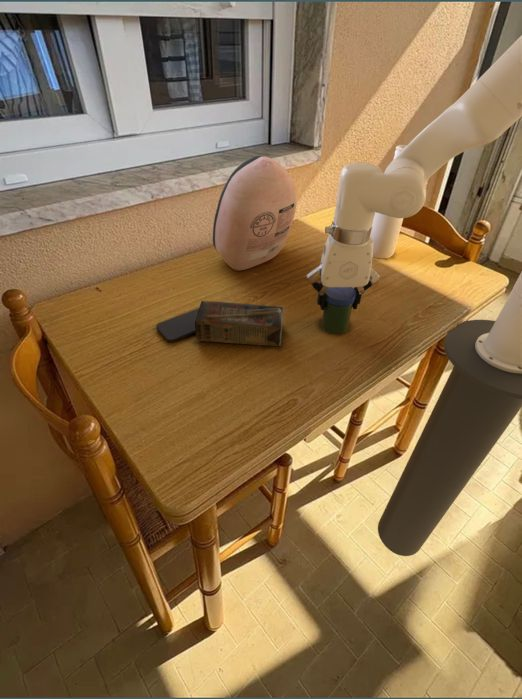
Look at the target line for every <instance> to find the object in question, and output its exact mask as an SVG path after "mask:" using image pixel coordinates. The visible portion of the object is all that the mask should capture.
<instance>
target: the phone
mask: <svg viewBox="0 0 522 699" xmlns="http://www.w3.org/2000/svg"><path fill="white" fill-rule="evenodd" d="M198 310H199V308H196V309H193V310H191V311H187V312H185V313H182V314H180V315H177V316H174V317H172V318H169V319H166V320H164V321H162V322H158V323H157V324H156V330H157V332H159V333H160V335H161V336H162V337H163V339H165V340H166V342H168V343H174V342H176V341H179V340H182V339H184V338H186V337H188V336H191V335H193V334H196V329H195V319H196V317H197V313H198Z"/></svg>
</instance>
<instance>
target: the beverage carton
mask: <svg viewBox="0 0 522 699" xmlns="http://www.w3.org/2000/svg"><path fill="white" fill-rule="evenodd" d="M283 320H284V307H283V306H276V305H263V304H252V303H239V302H227V301H226V302H225V301H210V300H201V302H200V304H199V310H198V313H197V317H196V319H195V329H196V333H195V336H196V341H197V342H211V343H225V344H238V345H239V344H240V345H251V346H252V345H253V346H269V347H270V346H271V347H281V342H282V332H283V330H282V329H283Z"/></svg>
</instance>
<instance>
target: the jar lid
mask: <svg viewBox="0 0 522 699" xmlns="http://www.w3.org/2000/svg"><path fill="white" fill-rule="evenodd" d="M325 293H326V296H327V297H326V301H327V302H328V303H330V304H332V305H335V306H348V305H351V304H352V303H354V301H355V299H356V291H355V290H354V287H329V288H328V290H327V291H326V292H325Z"/></svg>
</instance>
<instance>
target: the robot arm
mask: <svg viewBox="0 0 522 699" xmlns="http://www.w3.org/2000/svg"><path fill="white" fill-rule="evenodd" d="M521 118H522V34H521V35H520V36H519V37H518V38H517V39H516V40H515V41H514V42H513V43H512V44H511V45H510V46H509V47H508V48H507V50H505V51H504V52H503V53H502V55H501V56H500V57H498V59H497V60H496V61H495V62H494V63H493V64H492V65H490V67H489V68H488V69H486V71H484V73H483V74H482V75H481V76H480V77H479V78H478V79H477V80H476V81H475V82H474V83H473V84H472V85H471V86H470V87H469V88H468V89H467V90H466V91H465V92H464V93H463V94H462V95H461V96H460V97H459V98H458V99H456V101H454V103H452V104H451V105H449V106H448V107H447V108H446V109H444V111H443V112H442V113H441V114H440V115H438V116H437V117H436V118H435V119H434V120H432V121H431V122H430V123H429V124H428V125H426V126H425V127H424V128H423V129H422V130H421V131H420V132H419V133H418V134H416V136H415V137H414V138H413V139H412V140H410V142H408V144H407V146H406V147H405V148H404V149H403V150H402V151H401V152H400V153H399V154H398V155H397V157H396V158H395V159H394V158H393V159H394V160H393V159H392V161H391V162H390V163H389V164H388V165H387V167H386V168H385V170H384V171H383V170H382V168H381V166H379V165H377V164H374V163H372V162H371V163H370V162H367V161H366V162H363V161H356V162H355V161H353V162H350V163H347V164H346V165H344V166H343V167H342V169H341V170H340V175H339V180H338V187H337V192H336V193H337V194H336V202H335V208H334V215H333V220H332V222H331V225H328V226H325V227H324V233H325V234H326V235H327V234H328V236H327V238H326V241H325V243H324V247H323V250H322V254H321V259H320V263H319V265H318V266H316V267H315V268H314V269H312V270H311V271H310V272H309V273H307V274H306V275H305V278H306V281H307V282H308V284H310V285H311V287H312V288H313V289H314V290H315V291H316V292H317V297H316V303H317V306H319V308H320V310H321V311H323V310H324V309H325V303H326V297H327V296H326V293H325V292H326V291H327V290H328V288H329V287H352V288H353V289H354V290H355V291H356V299H355V301H354V303H353V307H352V310H358V305H360V304H361V300H362V295H364V294H365V292H366V291H367V290H369V289H370V288H371V287H372V286H373V284H375V283H376V282H377V281H379V280H380V278H381V276H380V275H379V272H377V270H375V269H374V268H373V267H372V265H373V258H374V257H373V240H372V239H371V238H370V234H371V229H372V225H373V220H374V215H375V212H377V213H380V214H383V215H387V216H390V217H394V218H403V219H407V218H411V217H413V216H414V215H416V214H418V213H419V212H420V210H422V208H423V207H424V205H425V203H426V199H427V187H426V182H427V181H428V180H429V179H430V178H431V177H432V176H433V175H434V174H435V173H436V172H438V171H439V170H440V169H441V168H442V167H443V166H444V165H446V164H448V163H449V161H451V160H452V159H454V158H455V157H457V156H458V155H461V154H462V153H464V152H466V151H469V150H472V149H475V148H479V147H483V146H485V145H488V144H490V143H493V142H494V141H495V140H497V139H498V138H499V137H501V135H503V134H504V133H505V132H506V131H507V130H508V129H510V128H511V127H512V126H513V125H514V124H515V123H516V122H517V121H518V120H520V119H521ZM317 277H320V281H318V280H317V279H316V278H317ZM505 300H506V301H505V302H504V304H503V306H502V308H501V310H500V312H499V314H498V316H497V318H496V320H494V321H495V323H494V325H493V327H492V329H491V331H490V333H486V334H483V335H481V336H480V337H478V339H477V341H476V343H475V349H476V351H477V353H478V355H479V356H480V357H481V358H482V359H483V360H484V361H485V362H487V363H488V364H490V365H492V366H494V367H495V368H498V369H500V370H503V371H506V372H511V373H519V374H522V271H520V274H519V275H518V278H517V279H516V282H515V283H514V285H513V287H512V289H511V291H510V293H509V295H508V296H507V298H506V299H505Z"/></svg>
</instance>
